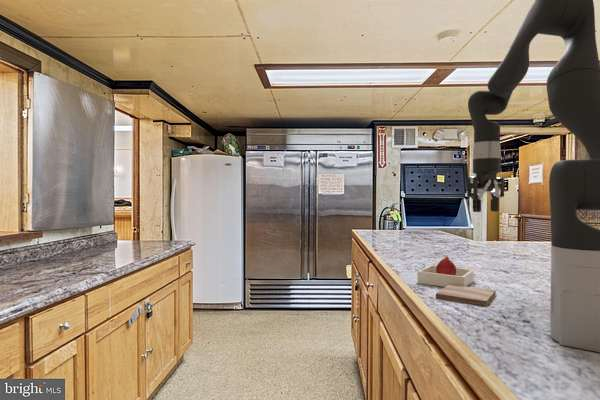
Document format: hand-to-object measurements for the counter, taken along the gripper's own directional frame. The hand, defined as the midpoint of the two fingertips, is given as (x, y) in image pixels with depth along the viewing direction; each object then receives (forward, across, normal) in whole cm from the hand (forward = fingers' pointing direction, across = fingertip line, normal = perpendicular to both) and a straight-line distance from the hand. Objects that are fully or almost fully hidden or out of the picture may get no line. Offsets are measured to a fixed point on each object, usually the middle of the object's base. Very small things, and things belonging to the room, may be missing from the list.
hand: (485, 211), depth 112 cm
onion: (+22, -8, +8) cm, 25 cm away
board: (+22, -17, -6) cm, 28 cm away
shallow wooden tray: (+22, -8, +8) cm, 25 cm away
